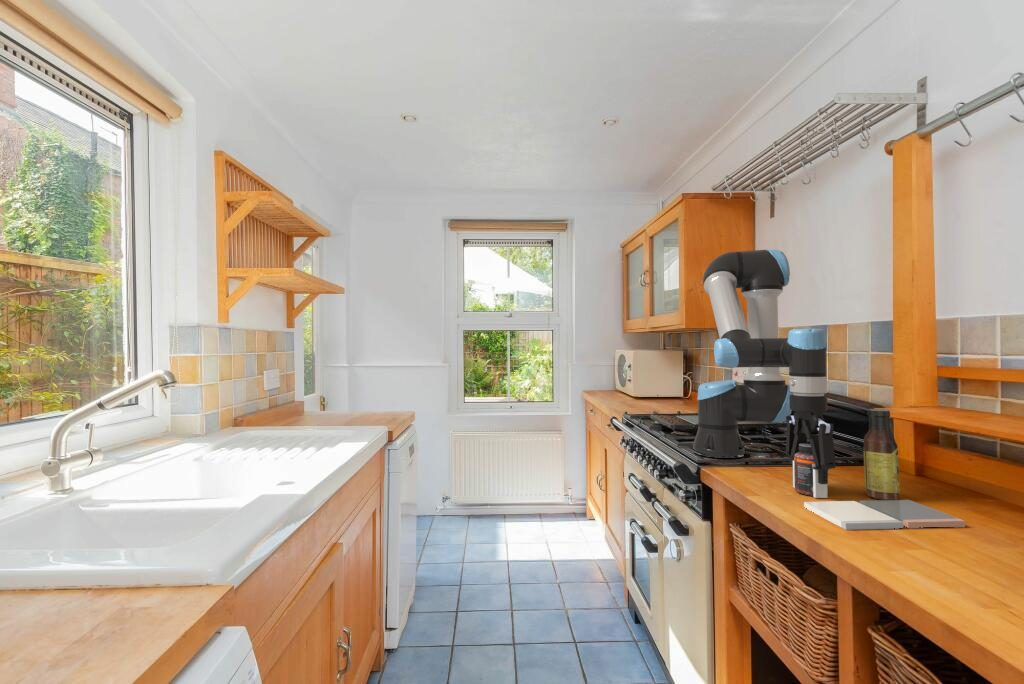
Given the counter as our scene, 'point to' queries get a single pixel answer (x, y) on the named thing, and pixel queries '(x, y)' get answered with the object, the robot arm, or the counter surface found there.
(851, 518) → the cream square tile
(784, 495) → the counter surface
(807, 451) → the supplement bottle
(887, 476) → the sauce bottle
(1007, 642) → the counter surface
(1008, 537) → the counter surface
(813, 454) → the robot arm
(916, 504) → the grey square coaster
